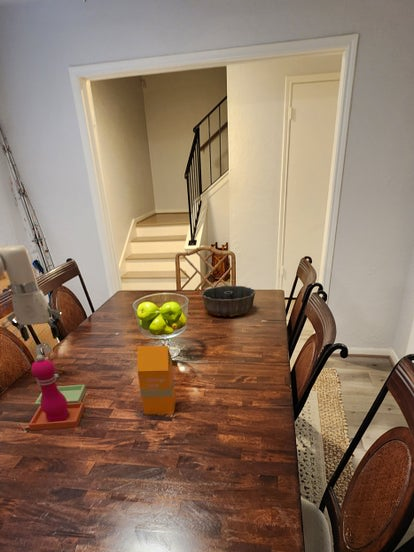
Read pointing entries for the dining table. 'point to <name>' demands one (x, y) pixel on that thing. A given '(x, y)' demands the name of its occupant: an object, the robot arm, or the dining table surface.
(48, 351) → the wineglass
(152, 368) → the orange juice
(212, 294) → the bundt pan
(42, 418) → the terracotta tray
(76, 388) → the sage tray
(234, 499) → the dining table surface
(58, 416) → the pepper mill
